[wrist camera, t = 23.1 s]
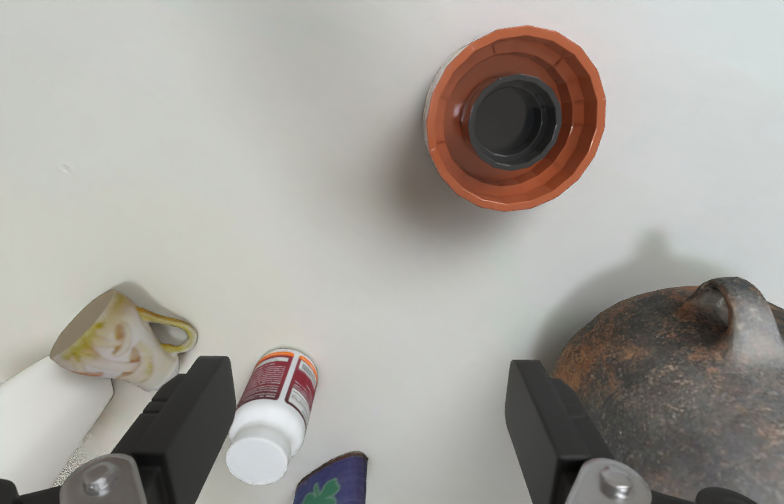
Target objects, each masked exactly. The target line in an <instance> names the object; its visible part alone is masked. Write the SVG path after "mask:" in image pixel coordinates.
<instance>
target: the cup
mask: <svg viewBox="0 0 784 504" xmlns="http://www.w3.org/2000/svg"><path fill="white" fill-rule="evenodd" d="M113 393H114V392H113V387H112V382H111V378H105V377H95V376H88V375H82V374H77V373H74V372H71V371H68V370H66V369H64V368H62V367H60V366H59V365H58V364H57V363H55V362H54V361H53V360H51V359H50V355H49V356H47V357H45V358H43V359H41V360H39V361H38V362H36V363H35V364H33V365H31V366H30V367H28V368H26V369H25V370H23V371H22V372H20V373H18V374H17V375H15V376H13V377H12V378H10V379H9V380H7V381H5V382H4V383H2V384H0V479H7V480H10V481H12V482H13V483H14V484H15V486H16V488H17V491H18V494H19V496H20V495H24V494H28V493H32V492H36V491H41V490H45V489H49V488H51V487H52V485H53V484H54V482H55V481H56V479H57V478H58V476H59V475H60V473H61V472H62V470H63V469H64V467H65V466H66V464H67V463H68V461H69V460H70V458H71V457H72V455H73V454H74V453H75V451H76V450H77V448H78V447H79V445H80V444H81V442H82V441H83V439H84V438H85V436H86V435H87V433H88V432H89V430H90V429H91V427H92V426H93V424H94V423H95V421H96V420H97V418H98V417H99V416H100V414H101V413H102V411H103V410H104V408H105V407H106V405H107V404H108V402H109V401H110V399H111V397H112V395H113Z"/></svg>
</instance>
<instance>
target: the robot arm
mask: <svg viewBox="0 0 784 504" xmlns="http://www.w3.org/2000/svg"><path fill="white" fill-rule="evenodd" d="M235 411H236V398H235V391H234V384H233V376H232V369H231V362H230V359H229V357H227V356H199V357H198V358H197V360H196V361H195V362H194V364H193V365H192V367H191V368H190V369H189V371H188V372H187V374H178V375H176V376H175V377H174V378H172V379H171V380H169V381H168V382H166V383H165V384H164V385H162V386H161V388H160V389H159V390H158V392H157V393H156V394H155V396H154V397H153V398H152V401H151V402H149V403H148V405H147V406H146V407H145V409H144V410H143V414H140V415H139V417H138V418H137V419H136V421H135V422H134V423H133V424H132V426H131V427H130V428H129V430H128V431H127V432H126V434H125V435H124V436H123V438H122V439H121V440H120V441H119V443H118V444H117V445H116V447H115V448H114V449H113V451H112V452H111V453H110V454H108V455H104V456H100V457H98V458H95V459H93V460H90V461H89V462H87V463H85V464H83V465H82V466H80V467H79V468H77V469H76V470H75V471H74V472H72V473H71V474H70V475H69V476H68V477H67V479H66V480H65V481H64V483H63V485H61V486H57V487H53V488H49V489H45V490H41V491H36V492H32V493H28V494H24V495H20V496H19V494H18V491H17V488H16V486H15V484H14V483H13V482H12V481H10V480H7V479H0V504H195V502H196V500H197V498H198V496H199V494H200V492H201V490H202V487H203V485H204V483H205V481H206V479H207V477H208V475H209V473H210V470H211V468H212V466H213V464H214V462H215V460H216V458H217V456H218V453H219V451H220V449H221V447H222V445H223V443H224V441H225V439H226V436H227V434H228V432H229V430H230V428H231V426H232V424H233V421H234V417H235ZM505 418H506V424H507V428H508V431H509V434H510V437H511V440H512V443H513V446H514V449H515V452H516V455H517V458H518V461H519V464H520V467H521V470H522V473H523V476H524V479H525V482H526V485H527V488H528V490H529V493H530V496H531V499H532V502H533V504H757V503H756V502H754V501H753V500H751V499H750V498H748V497H746V496H744V495H742V494H740V493H738V492H735V491H732V490H729V489H725V488H721V487H707V488H704V489H702V490H700V491H699V492H698V494H697V496H696V498H695V501H694V502H692V501H688V500H685V499H681V498H677V497H673V496H670V495H666V494H662V493H659V492H656V491H653V490H651V489H650V488H649V486H648V484H647V483H646V481H645V480H644V479H643V478H642V477H641V476H640V475H639V474H638V473H637V472H636V471H634V470H633V469H632V468H630V467H628V466H627V465H625V464H623V463H621V462H618V461H616V460H615V458H614V457H613V455H612V453H611V452H610V450H609V448H608V447H607V445H606V443H605V441H604V440H603V438H602V436H601V435H600V433H599V431H598V430H597V428H596V426H595V425H594V423H593V421H592V420H591V419H590V418H589V415H588V413H587V411H586V410H585V408H584V407H583V406H582V403H581V401H580V399H579V398H578V396H577V394H576V393H575V391H574V390H573V389H572V388H570V387H569V386H568V385H567V384H566V383H564V382H563V381H562V380H561V379H559V378H549V376H548V374H547V372H546V370H545V369H544V367H543V365H542V363H541V362H540V361H539V360H512V361H511V364H510V370H509V378H508V386H507V394H506V402H505Z"/></svg>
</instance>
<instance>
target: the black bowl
mask: <svg viewBox="0 0 784 504" xmlns="http://www.w3.org/2000/svg"><path fill="white" fill-rule="evenodd" d="M561 125H562V116H561V105H560V102H559V101H558V99H557V97H556V95H555V93H554V91H553V89H552V88H551V87H550V86H548V85H547V84H546V83H544V82H543V81H542V80H540V79H539V78H537V77H534V76H529V75H524V74H509V75H502V76H497V77H493V78H490V79H488V80H486V81H485V82H483V83H482V84H480V85H479V86H478V87H476V88H475V89H474V90H473V91H472V93H471V94H470V96H469V97H468V99H467V100H466V102H465V104H464V107H463V111H462V116H461V129H462V135H463V139H464V140H465V142H466V143H467V145H468V147H469V148H470V150H471V151H472V152H473V153H474V154H475V155H476V156H478V157H479V158H480V159H481V160H483V161H484V162H486V163H487V164H489V165H490V166H492V167H493V168H496V169H502V170H507V171H515V170H520V169H524V168H528V167H530V166H532V165H534V164H535V163H537V162H538V161H540V160H541V159H543V158H544V157H545V156H546V155H547V154H548V152H549V151H550V150H551V148H552V147H553V146H554V144H555V143H556V141H557V138H558V135H559V132H560V129H561Z"/></svg>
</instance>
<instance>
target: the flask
mask: <svg viewBox="0 0 784 504" xmlns="http://www.w3.org/2000/svg"><path fill="white" fill-rule="evenodd" d="M368 459H369V458H367V457H366V455H365V454H364V453H361V452H352V453H347V454H344V455H342V456H339V457H337V458H335V459H332V460H330V461H329V462H327V463H325V464H323V466H321V467H319V468H318V469H316V470H315V471H313V472H312V473H310V474H309V475H308V476H306V477H305V478H303V479H302V480H301V482H300V483H299V484H298V486H297V489H296V493H295V498H294V502H293V504H365V497H366V477H367V460H368Z"/></svg>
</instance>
